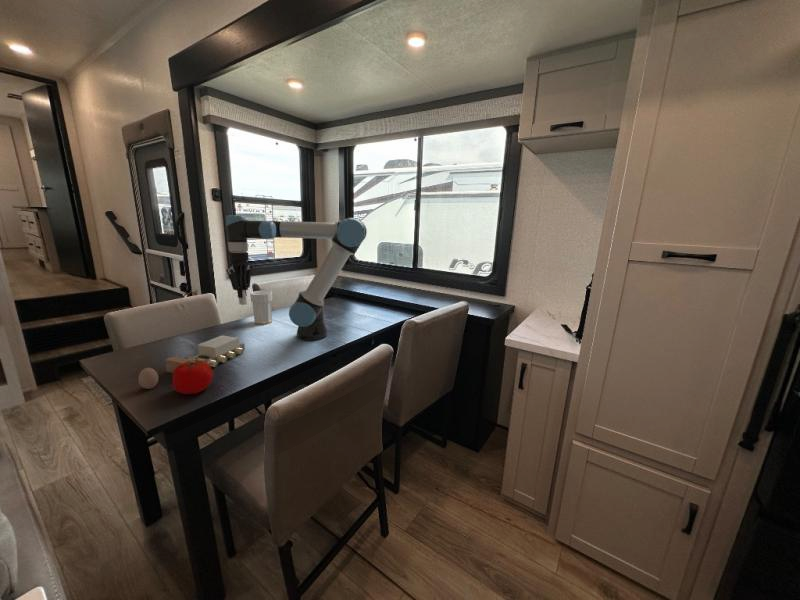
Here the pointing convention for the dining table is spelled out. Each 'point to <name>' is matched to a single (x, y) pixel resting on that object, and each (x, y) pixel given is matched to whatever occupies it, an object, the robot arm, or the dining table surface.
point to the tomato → (192, 377)
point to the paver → (218, 346)
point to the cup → (262, 307)
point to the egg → (148, 378)
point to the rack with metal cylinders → (203, 359)
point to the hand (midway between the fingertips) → (243, 304)
